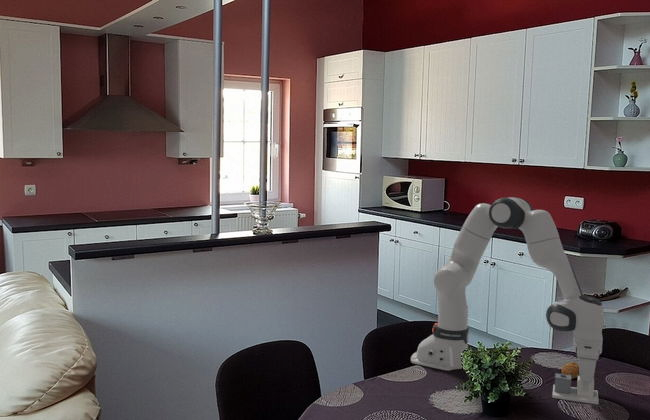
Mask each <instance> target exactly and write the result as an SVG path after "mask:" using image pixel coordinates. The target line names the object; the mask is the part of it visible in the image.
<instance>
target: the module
mask: <svg viewBox="0 0 650 420" xmlns="http://www.w3.org/2000/svg"><path fill="white" fill-rule="evenodd" d="M576 383H577V385H576V388H577V395H579V396H586V397H593V395H594V389H595V377H593V381H592V383H589V388H588V392H583V391H582V381H580V376H578V377H577V381H576Z"/></svg>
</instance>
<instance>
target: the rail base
mask: <svg viewBox="0 0 650 420" xmlns="http://www.w3.org/2000/svg"><path fill="white" fill-rule="evenodd" d="M554 375H555V376H554V384H553V385H552V396H551V397H552V398H553V399H559V400H565V401H571V402H578V403H583V404H584V403H586V404H592V405H598V406H599V402H600V401H599V392H598V390H594V395H593V397H586V396H579V395H577V387H575V386H574V387H573V386H572V378H571V375H566V374H562V373H557V372H556V373H555V374H554Z"/></svg>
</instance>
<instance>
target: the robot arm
mask: <svg viewBox="0 0 650 420" xmlns="http://www.w3.org/2000/svg"><path fill="white" fill-rule="evenodd" d="M497 228H501V229H512V230H513V229H514V230H520V231H521V232H522V233H523V236H524V239H525V242H526V243H525V244H526V247H527V250H528V254H529V256H530V258H531V260H532V262H533V263H535V264H536V265H537V266H539V267H540V268H542V269H543V268H544V269H546V270H548V271H550V272H551V273H552V274H553V276H555V278H556V280H557V283H558V285H559V286H558V287H559V289H560V291H561V294H562V297H563V301H557V302H555V303H553V304H551V305H549V307H547V308H546V312H545V319H546V321H547V323H548V325H549V326H550V328H552V329H553V330H555V331H559V332H571V333H573V338H572V350H573V351H574V352H575V354H576V357H577V359H578V365H579V374H580V381H582V391H583V392H588V388H589V383H592V381H593V378H595V377H594V376H595V372H596V366H597V365H596V364H597V360H599V358H600V357H599V356H600V355H601V354H602V352H603V340H604V339H603V333H602V332H603V328H604V320H605V318H604V316H605V315H604V314H605V312H604V306H603V303H602V301H601V300H599V299H598V298H596V297H594V296H590V295H586V294H585V295H584V293H583V291H582V289H581V287H580V283H579V281H578V278H577V276H576V273H575V270H574V268H573V266H572V264H571V261H570V259H569V258H568V256H567V254H566V252H565V250H564V248H563V244H562V242H561V239H560V234H559V232H558V229H557V226H556V224H555V221H554V220H553V217H552V215H551V213H550V212H548V211H547V210H544V209H533V206H532V205H531V203H530V202H529V201H527V200H526V199H524V198H519V197H513V196H509V197H501V198H500V197H499V199H496V200H495V201H494V202H492V203H491V204H489V203H485V202H483V203H478V204H476V205H475V206H474V208H473V209H471V212H470V213H469V215H468V216H467V218H466V219H465V221H464V223H463V225H462V226H461V228H460V231H459V233H458V235H457V237H456V240H455V241H454V243H453V248H452V251H451V255H450V257H449V259H448V261H447V263H446V264H445V265H443V266H441V267H440V268H438V270H437V271H436V273H435V275H434V278H433V285H434V287H435V289H436V297H437V305H438V308H437V309H438V312H437V313H438V315H437V317H438V318H437V322H435V323H434V324H433V326H432V334H430V335H429V336H427V338H425V339H423V340H421V342H420V343H419V344H418V346H417V350H416V351H415V352H414V353H413V354H412V355H411V356H410V362H411V363H412V364H415V365H419V366H424V367H427V368H433V369H436V370H437V369H438V370H442V371H448V372H449V371H452V370H461V369H462V365H461V353H462V352H463V351H464V350H465V348H468V349H469V347H468V346H469V345H468V343H469V338H470V336H469V335H470V331H469V327H468V326H469V325H468V324H469V321H468V320H469V305H468V303H467V297H466V290H467V287H468V286H469V285H470V284H471V282H472V281H473V279H474V277H475V274H476V271H477V269H478V267H479V264H480V261H481V260H482V259H481V258H482V256H483V254H484V253H485V251H486V249H487V247H488V245H489V243H490V241H491V239H492V237H493V235H494V232H496V230H497Z"/></svg>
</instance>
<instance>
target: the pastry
mask: <svg viewBox="0 0 650 420" xmlns="http://www.w3.org/2000/svg"><path fill="white" fill-rule="evenodd" d="M561 374H566V375H571V380H572V379H576V378H578V376H580V374H579V363H576V362H567V363H566V364H565V365H564V366H562V368H561Z"/></svg>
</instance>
